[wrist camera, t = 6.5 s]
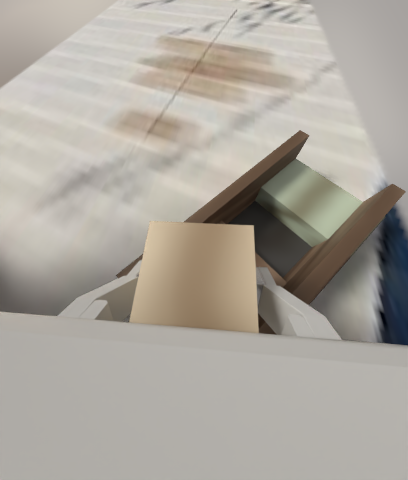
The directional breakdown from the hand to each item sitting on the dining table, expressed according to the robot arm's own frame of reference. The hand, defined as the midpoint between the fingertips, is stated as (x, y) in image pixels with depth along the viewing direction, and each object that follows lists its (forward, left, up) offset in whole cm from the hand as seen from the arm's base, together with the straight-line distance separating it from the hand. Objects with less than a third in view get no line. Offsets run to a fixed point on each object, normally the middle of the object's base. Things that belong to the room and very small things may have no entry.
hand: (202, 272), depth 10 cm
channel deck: (+1, +7, -9) cm, 11 cm away
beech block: (0, 0, -4) cm, 4 cm away
